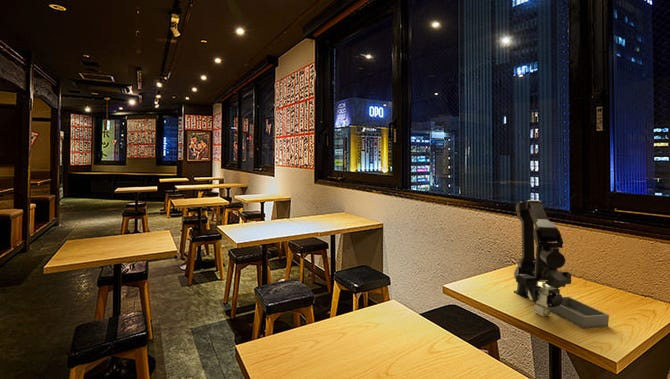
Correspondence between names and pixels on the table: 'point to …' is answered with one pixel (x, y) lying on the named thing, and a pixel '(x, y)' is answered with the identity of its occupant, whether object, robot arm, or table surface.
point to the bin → (580, 314)
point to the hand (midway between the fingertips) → (542, 301)
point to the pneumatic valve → (546, 299)
